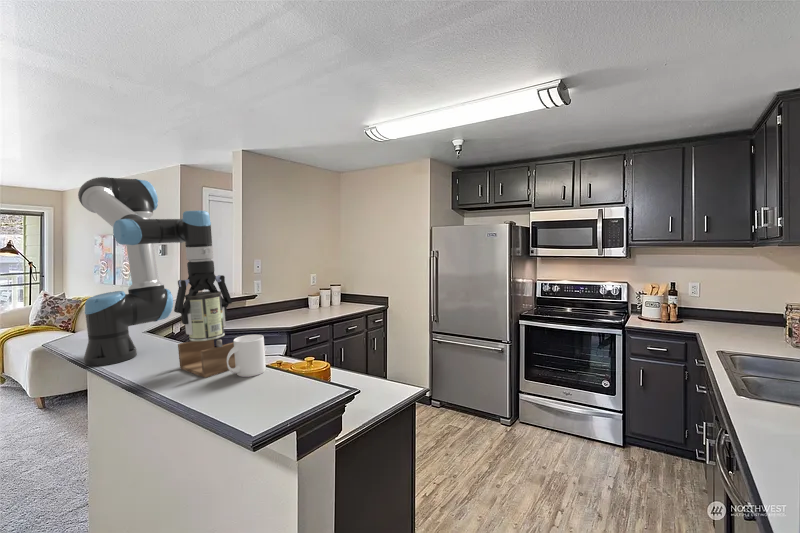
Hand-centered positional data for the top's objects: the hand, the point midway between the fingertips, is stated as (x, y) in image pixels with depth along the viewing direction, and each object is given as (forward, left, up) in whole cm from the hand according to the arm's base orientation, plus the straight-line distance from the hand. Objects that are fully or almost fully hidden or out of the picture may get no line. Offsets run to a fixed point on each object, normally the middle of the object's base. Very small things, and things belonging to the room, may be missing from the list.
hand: (206, 330), depth 129 cm
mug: (+16, +3, -13) cm, 20 cm away
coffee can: (0, 0, -2) cm, 2 cm away
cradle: (0, 0, -12) cm, 12 cm away
